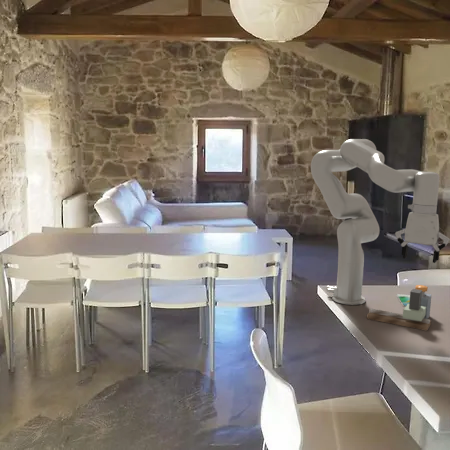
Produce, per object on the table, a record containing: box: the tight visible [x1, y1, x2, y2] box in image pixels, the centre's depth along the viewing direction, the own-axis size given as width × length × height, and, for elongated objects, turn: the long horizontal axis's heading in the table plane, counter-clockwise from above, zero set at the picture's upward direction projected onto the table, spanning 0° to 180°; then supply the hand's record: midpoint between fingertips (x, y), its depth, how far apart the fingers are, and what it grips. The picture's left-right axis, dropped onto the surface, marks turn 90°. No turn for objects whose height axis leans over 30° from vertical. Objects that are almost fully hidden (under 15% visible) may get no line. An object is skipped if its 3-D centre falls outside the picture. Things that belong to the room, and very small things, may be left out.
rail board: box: [366, 308, 432, 332], centre depth 183 cm, size 20×7×2 cm, turn 59°
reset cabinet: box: [421, 292, 432, 319], centre depth 187 cm, size 6×6×8 cm
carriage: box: [402, 288, 426, 321], centre depth 179 cm, size 6×7×9 cm
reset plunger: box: [414, 284, 429, 297], centre depth 186 cm, size 4×4×5 cm
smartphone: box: [395, 293, 410, 308], centre depth 205 cm, size 7×1×15 cm
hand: (419, 259), depth 178 cm, fingers open, 9 cm apart
